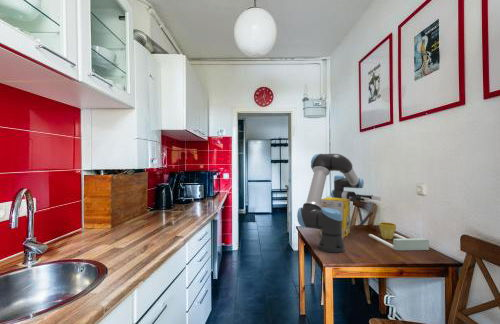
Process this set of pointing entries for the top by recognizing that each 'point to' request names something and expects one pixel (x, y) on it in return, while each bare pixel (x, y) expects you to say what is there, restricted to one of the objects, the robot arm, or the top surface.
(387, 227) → the plant pot
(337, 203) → the packaging box
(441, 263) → the top surface
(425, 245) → the guide track
